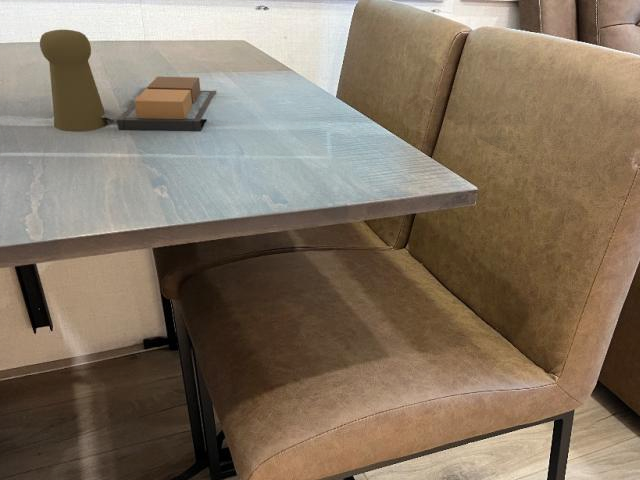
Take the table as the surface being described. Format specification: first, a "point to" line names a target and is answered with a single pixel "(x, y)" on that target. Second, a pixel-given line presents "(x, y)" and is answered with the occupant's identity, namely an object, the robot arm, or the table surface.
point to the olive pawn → (72, 81)
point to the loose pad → (163, 104)
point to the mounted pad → (178, 85)
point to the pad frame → (164, 120)
